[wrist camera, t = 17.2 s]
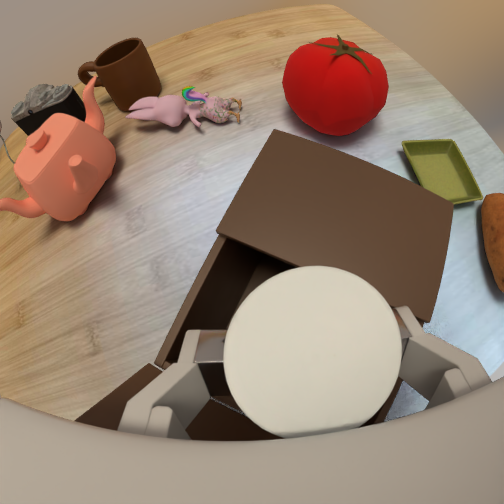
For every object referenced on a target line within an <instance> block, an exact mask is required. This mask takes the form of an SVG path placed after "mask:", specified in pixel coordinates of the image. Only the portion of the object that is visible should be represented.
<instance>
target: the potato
mask: <svg viewBox="0 0 504 504" xmlns="http://www.w3.org/2000/svg"><path fill="white" fill-rule="evenodd" d="M481 216H482V231H483V237H484V246H485V251H486V255H487V259H488V262H489V264H490V267H491V269H492V272H493V275H494V279H495V282H496V284H497V286H498V287H499V289H500V291H502V292H504V194H502V193H493V194H489V195H486V197H485V199H484V200H483V204H482V207H481Z"/></svg>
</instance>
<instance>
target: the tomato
mask: <svg viewBox="0 0 504 504" xmlns="http://www.w3.org/2000/svg"><path fill="white" fill-rule="evenodd" d="M337 37H338V39H336V38H331V37H330V38H321V39H319V40H318V41H316V42H314V43H312V44H306V45H303V46H300V47H299V48H298V49H297V50H295V51H294V52H293V53H292V54H291V55H290V57H289V59H288V61H287V64H286V67H285V71H284V76H283V81H282V83H283V88H284V92H285V97H286V100H287V102H288V104H289V106H290V107H291V108H292V109H293V111H294V112H295V113H296V114H297V115H298V116H299V118H300V119H301V120H302V121H303V122H304V123H306V124H307V125H309V126H311V127H312V128H314V129H316V130H317V131H319V132H320V133H325V134H330V135H335V136H342V135H349V134H350V133H352V132H354V131H356V130H358V129H360V128H361V127H362V126H364V125H365V124H366V123H368V122H369V121H370V120H372V119H373V118H374V117H376V116H377V114H378V113H379V112H380V110H381V109H382V108H383V107H384V105H385V103H386V98H387V93H388V88H389V86H388V80H387V74H386V70H385V68H384V66H383V64H382V62H381V61H380V59H378V58H376V57H374V56H373V55H371V54H370V53H368V52H367V53H365V52H366V51H365V52H364V50H363V49H361V48H359V47H358V46H357V45H356V44H355V43H353V42H349V41H345V40H342V39H341V38H340V37H339V35H337ZM309 43H310V42H309Z"/></svg>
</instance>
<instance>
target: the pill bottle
mask: <svg viewBox="0 0 504 504" xmlns="http://www.w3.org/2000/svg"><path fill="white" fill-rule="evenodd" d="M401 357H402V343H401V335H400V330H399V326H398V323H397V320H396V318H395V316H394V313H393V311H392V309H391V307H390V306H389V304H388V303H387V302H386V300H385V299H384V297H383V296H382V295H381V294H380V293H379V292H378V291H377V290H376V289H375V288H374V287H373V286H372V285H370V284H369V283H368V282H366V281H365V280H363V279H362V278H360V277H358V276H356V275H354V274H352V273H350V272H347V271H345V270H341V269H338V268H334V267H327V266H305V267H299V268H295V269H291V270H288V271H285V272H282V273H280V274H278V275H276V276H273V277H271V278H270V279H268V280H266V281H265V282H264V283H262V284H261V285H260V286H258V287H257V288H256V289H255V290H253V291H252V292H251V293H250V294H249V295H248V296H247V298H246V299H245V300H244V301H243V302H242V304H241V305H240V307H239V308H238V310H237V311H236V313H235V314H234V316H233V318H232V320H231V323H230V325H229V328H228V331H227V333H226V338H225V344H224V355H223V363H224V371H225V376H226V380H227V384H228V387H229V389H230V392H231V394H232V396H233V398H234V399H235V401H236V403H237V404H238V406H239V407H240V408H241V410H242V411H243V412H244V413H245V414H246V415H247V416H248V418H249V419H251V420H252V421H253V422H254V423H255V424H257V425H258V426H260V427H261V428H262V429H264V430H266V431H268V432H270V433H272V434H274V435H277V436H279V437H282V438H286V439H288V438H298V437H306V436H314V435H321V434H328V433H334V432H340V431H345V430H350V429H355V428H358V427H360V426H361V425H363V424H364V423H365V422H366V421H368V420H369V419H370V418H371V417H372V416H373V415H374V414H375V413H376V412H377V411H378V410H379V409H380V408H381V406H382V405H383V404H384V403H385V401H386V400H387V398H388V397H389V395H390V393H391V391H392V390H393V387H394V385H395V383H396V380H397V378H398V374H399V370H400V365H401Z"/></svg>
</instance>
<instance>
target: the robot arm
mask: <svg viewBox="0 0 504 504" xmlns="http://www.w3.org/2000/svg"><path fill="white" fill-rule="evenodd" d="M392 311H393V313H394V316H395V318H396V320H397V323H398V326H399V330H400V335H401V343H402V357H401V365H400V370H399V374H398V376H399V377H400V378H401V379H402V380H404V381H405V382H406V383H407V384H409V385H410V386H411V387H412V388H413V389H415V390H416V391H417V392H418V393H420V394H421V395H422V396H423V397H424V398H426V399H427V400H428V401H429V403H428V405H427V407H426V408H425V410H423V411H420V412H417V413H414V414H411V415H407V416H404V417H400V418H397V419H393V420H390V421H386V422H382V423H378V424H374V425H369V426H365V427H360V428H355V429H350V430H345V431H340V432H334V433H328V434H321V435H314V436H306V437H298V438H288V439H276V440H259V441H201V440H191V438H190V437H189V435H188V434H187V432H186V431H185V429H186V428H187V426H188V425H189V424H190V423H191V422H192V420H193V419H194V418H195V417H196V416H197V414H198V413H199V412H200V411H201V409H202V408H203V407H204V406H205V404H206V403H207V402H208V401H209V399H210V398H211V397H210V396H231V395H232V394H231V392H230V389H229V387H228V384H227V380H226V376H225V371H224V363H223V355H224V344H225V338H226V333H227V331H228V329H202V330H188V331H187V332H186V334H185V338H184V341H183V344H182V348H181V352H180V355H179V359H178V362H177V363H173V364H172V365H171V366H169V367H168V368H167V369H166V370H165V371H163V372H162V373H161V374H160V375H159V376H158V377H156V378H155V379H154V380H153V381H152V382H150V383H149V384H148V385H147V386H146V387H144V388H143V389H142V390H141V391H140V392H138V393H137V394H136V395H135V396H134V397H132V398H131V399H130V400H129V401H128V402H127V404H126V407H125V410H124V413H123V415H122V418H121V421H120V424H119V427H118V430H117V431H115V430H110V429H105V428H101V427H96V426H92V425H88V424H83V423H80V422H76V421H72V420H68V419H65V418H62V417H58V416H55V415H52V414H49V413H46V412H43V411H40V410H37V409H34V408H31V407H28V406H26V405H23V404H21V403H18V402H16V401H13V400H11V399H8V398H0V504H504V376H503V377H502V378H500V379H498V380H496V381H494V382H492V381H491V379H490V378H489V376H488V374H487V373H486V371H485V369H484V368H483V366H482V365H481V363H480V361H479V360H478V359H477V358H476V357H474V356H472V355H470V354H468V353H466V352H464V351H462V350H460V349H459V348H457V347H455V346H453V345H451V344H449V343H447V342H445V341H443V340H442V339H440V338H438V337H436V336H434V335H432V334H430V333H427V334H426V333H425V332H424V330H423V329H422V327H421V326H420V324H419V322H418V321H417V319H416V318H415V316H414V315H413V313H412V312H411V310H410V309H409V307H408V306H401V307H396V308H393V309H392Z"/></svg>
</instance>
